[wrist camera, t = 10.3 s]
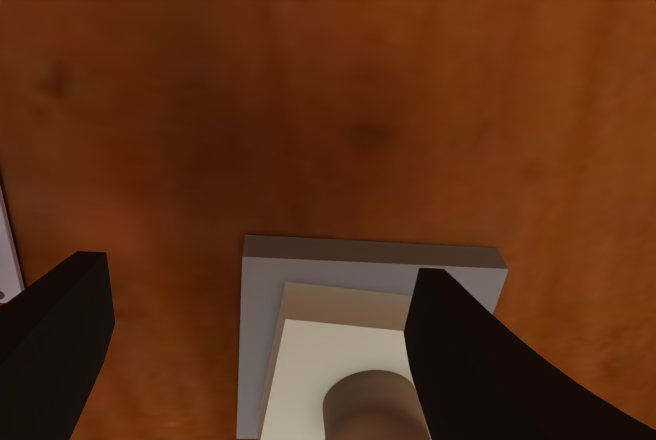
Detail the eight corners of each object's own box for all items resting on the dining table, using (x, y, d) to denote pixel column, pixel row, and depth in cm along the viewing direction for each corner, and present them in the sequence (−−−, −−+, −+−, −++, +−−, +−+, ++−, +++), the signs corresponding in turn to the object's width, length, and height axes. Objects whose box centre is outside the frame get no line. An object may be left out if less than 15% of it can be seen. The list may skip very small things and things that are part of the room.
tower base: (239, 401, 30) (236, 438, 28) (245, 226, 24) (242, 256, 22) (437, 403, 31) (448, 439, 29) (489, 239, 25) (508, 268, 23)
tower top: (258, 416, 27) (256, 459, 25) (285, 281, 23) (285, 319, 20) (419, 427, 28) (430, 469, 26) (474, 302, 24) (492, 340, 22)
